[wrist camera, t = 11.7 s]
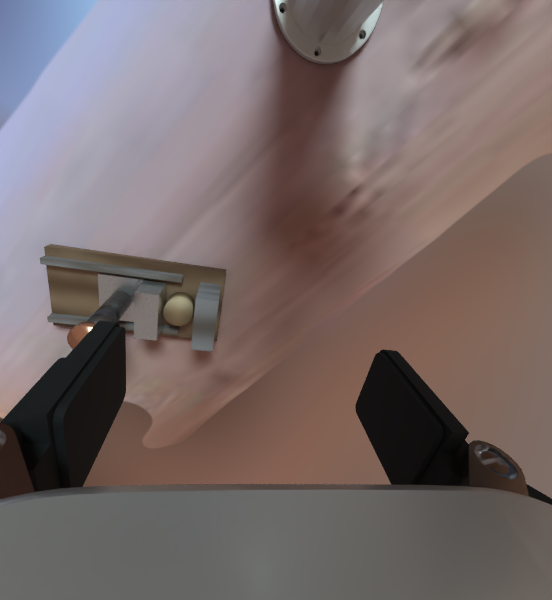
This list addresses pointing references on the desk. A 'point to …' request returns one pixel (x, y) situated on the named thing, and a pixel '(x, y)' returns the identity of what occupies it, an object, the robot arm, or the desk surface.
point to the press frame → (178, 277)
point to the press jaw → (126, 306)
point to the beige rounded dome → (179, 309)
